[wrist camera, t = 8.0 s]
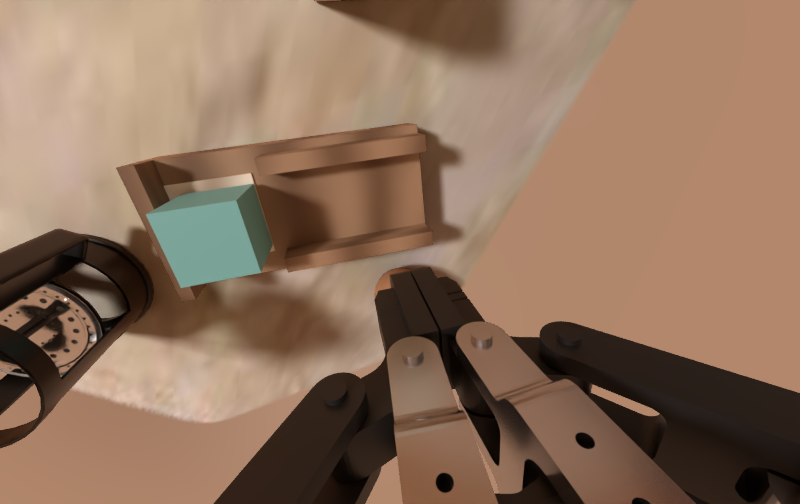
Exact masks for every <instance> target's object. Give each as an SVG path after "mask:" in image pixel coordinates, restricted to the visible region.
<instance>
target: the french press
mask: <svg viewBox="0 0 800 504" xmlns="http://www.w3.org/2000/svg"><path fill="white" fill-rule="evenodd" d="M82 262H83V263H85V264H87V265H89V266H91V267H93V268H95V269H97V270H98V271H100V272H101V273H103V274H104V275H106V276H107V277H108V278H109V279H110V280H111V281H112V282H114V283H115V284H116V286H117V287H118V288H119V290H120V291H121V292H122V294H123V296H124V298H125V300H126V303H127V308H128V310H126V311H125V312H124V313H122V314H120V315H118V316H116V317H113V318H109V319H102V320H101V318H100V316H99V314H98V313H97V311H96V310H95V309H94V308H93V306H92V305H91V304H90V303H89V302H88V301H87V300H85V299H84V298H83V297H82V296H81V295H79V294H78V293H76V292H75V291H73V290H72V289H70V288H68V287H66V286H64V285H62V284H60V283H58V282H56V281H53V280H54V279H56V278H57V277H59V276H60V275H62V274H64V273H65V272H67V271H69V270H70V269H72V268H74V267H75V266H77V265H78V264H80V263H82ZM153 292H154V290H153V284H152V280H151V278H150V276H149V273H148V272H147V270H146V269H145V267H144V266H143V264H142V263H141V262H140V261H139V260H138V259H137V258H136V257H135V256H134V255H132V254H131V253H130V252H128V251H127V250H125V249H124V248H122V247H120V246H118V245H116V244H114V243H112V242H110V241H107V240H104V239H102V238H99V237H94V236H89V235H83V234H78V233H74V232H70V231H67V230H63V229H55V230H53V231H51V232H48V233H46V234H44V235H41V236H39V237H37V238H34V239H32V240H30V241H27V242H25V243H23V244H20V245H18V246H16V247H13V248H11V249H9V250H6V251H4V252H2V253H0V371H1V372H4V373H7V375H6V376H5V377H3V379H1V380H0V415H1V414H2V413H3V412H4V411H6V410H7V409H8V408H9V407H10V406H11V405H12V404H13V403H14V402H15V401H16V400H17V399H18V398H19V397H21V396H22V395H23V394H24V393H25V392H26V391H27V390H28V389H29V388H30V387H31V386H33V385H34V384H35V385H36V387H37V390H38V393H39V395H40V398H41V410H40V413H39V417H38V418H37V419H35V420H33V421H31V422H29V423H27V424H24V425H21V426H18V427H15V428H10V429H5V430H0V448H3V447H6V446H8V445H11V444H13V443H15V442H17V441H19V440H21V439H23V438H25V437H26V436H27V435H28V434H30V433H31V432H32V431H33V430H34V429H35V428H36V427H37V426H38V425H39V424H40V423H41V422H42V421H43V420H44V419H45V418H46V417H47V415H48V414H49V413H50V412H51V411H52V410H53V409H54V407H55V406H56V404H57V403H58V402H59V401H60V399H61V398H62V397H63V396H64V395H65V394H66V393H67V392H68V391H69V390H70V389H71V388H72V387H73V385H74V384H75V383H76V382H77V381H78V380H79V379H80V378H81V377H82V376H83V375H84V374H85V373H86V372H87V370H88V369H89V368H90V367H91V366H92V365H93V364H94V363H95V362H96V361H97V360H98V359H99V358H100V356H101V355H102V354H103V353H104V352H105V351H106V350H107V349H108V348H109V347H110V346H111V345H112V344H113V342H114V341H115V340H117V339H118V338H119V337H120V336H121V335H122V334H123V333H124V332H125V331H126V330H127V329H128V328H129V327H130V326H131V325H132V324H133V323H135V322H137V321H138V320H139V319H140V318H141V317H143V316H144V314H145V313H146V312H147V310H148V309H149V308H150V305H151V303H152V300H153ZM62 375H63V376H62ZM61 376H62V377H61Z"/></svg>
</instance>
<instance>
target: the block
mask: <svg viewBox="0 0 800 504" xmlns="http://www.w3.org/2000/svg"><path fill="white" fill-rule="evenodd" d="M146 216H147V218H148V220H149V222H150V225H151V227H152V229H153V231H154V233H155V235H156V237H157V239H158V241H159V243H160V245H161V248H162V250H163V252H164V254H165V256H166V258H167V260H168V262H169V264H170V266H171V268H172V270H173V273H174V275H175V277H176V279H177V281H178V283H179V285H180V287H181V288H184V287H189V286H194V285H199V284H205V283H210V282H215V281H221V280H226V279H231V278H236V277H242V276H247V275H252V274H257V273H261V272H262V269H263V267H264V265H265V262H266V260H267V257H268V255H269V252H270V250H271V248H272V245H273V244H272V241H271V237H270V234H269V231H268V228H267V225H266V221H265V218H264V215H263V212H262V209H261V205H260V202H259V199H258V196H257V193H256V189H255V186H254V184H247V185H240V186H234V187H227V188H220V189H214V190H207V191H200V192H194V193H187V194H181V195H180V196H178V197H176V198H174V199H172V200H171V201H169V202H167V203H165V204H163V205H162V206H160V207H158V208H156V209H155V210H153V211H151V212H149V213H147V214H146Z"/></svg>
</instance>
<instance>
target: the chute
mask: <svg viewBox="0 0 800 504" xmlns="http://www.w3.org/2000/svg"><path fill="white" fill-rule="evenodd" d="M420 152H427V151H426V137H425V134H421V133H418V132H417V125H416V124H409V123H407V124H400V125H392V126H385V127H377V128H370V129H362V130H355V131H347V132H340V133H332V134H325V135H317V136H310V137H302V138H295V139H288V140H280V141H273V142H265V143H258V144H250V145H243V146H235V147H228V148H220V149H213V150H205V151H198V152H190V153H183V154H175V155H168V156H160V157H156V158H152V159H148V160H144V161H140V162H137V163H133V164H129V165H125V166H121V167H117V168H116V169H117V171H118V173H119V175H120V177H121V179H122V181H123V183H124V185H125V187H126V189H127V191H128V193H129V195H130V197H131V199H132V202H133V204H134V206H135V208H136V210H137V212H138V214H139V216H140V218H141V220H142V222H143V224H144V226H145V228H146V230H147V232H148V234H149V236H150V238H151V240H152V242H153V244H154V246H155V249H156V251H157V253H158V255H159V257H160V259H161V261H162V263H163V265H164V267H165V269H166V271H167V273H168V275H169V277H170V279H171V281H172V283H173V285H174V287H175V289H176V291H177V294H178V296H179V298H180V300H181V302H184V301H189V300H194V299H196V298H197V297H198V295H199V294H200V292H201V291H202V289H203V288H204V287H205V285H206V284H207V283H205V284H199V285H194V286H189V287H184V288H181V287H180V285H179V283H178V281H177V279H176V277H175V275H174V273H173V270H172V268H171V266H170V264H169V262H168V260H167V258H166V256H165V254H164V252H163V250H162V248H161V245H160V243H159V241H158V239H157V237H156V235H155V233H154V231H153V229H152V227H151V225H150V222H149V220H148V218H147V216H146V214H147V213H149V212H151V211H153V210H155V209H156V208H158V207H160V206H162V205H163V204H165V203H167V202H169V201H171V200H172V199H174V198H176V197H178V196H180V195H181V194H187V193H194V192H200V191H207V190H214V189H220V188H227V187H234V186H240V185H247V184H254V186H255V189H256V193H257V196H258V199H259V202H260V205H261V209H262V212H263V215H264V218H265V221H266V225H267V228H268V231H269V234H270V237H271V241H272V244H273V245H272V248H271V250H270V252H269V255H268V257H267V260H266V262H265V265H264V267H263V269H262V272H261V273H263V272H268V271H274V270H279V269H284V268H287V270H288V272H293V271H298V270H303V269H308V268H314V267H319V266H324V265H329V264H334V263H340V262H345V261H350V260H355V259H361V258H366V257H371V256H376V255H381V254H387V253H392V252H397V251H402V250H407V249H413V248H418V247H423V246H428V245H433V233H432V230H431V229H430V228H429V227H428V226H427V225H426V224H425V217H424V205H423V192H422V180H421V168H420V156H419V153H420ZM257 274H258V273H257ZM252 275H253V274H252ZM236 278H237V277H236ZM215 282H216V281H215Z"/></svg>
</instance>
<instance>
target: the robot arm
mask: <svg viewBox="0 0 800 504" xmlns="http://www.w3.org/2000/svg"><path fill="white" fill-rule="evenodd" d="M389 276H390V284H391V288H389V289H384V290H379V291H378V293H377V295H376V298H375V305H376V311H377V316H378V322H379V327H380V333H381V337H382V342H383V346H384V350H385V358H384V360H383V362H382V364H381V365H380V366H379V367H378V368H377V369H376V370H375V371H373V372H372V373H370V374H368V375H366V376H364V377H363V378H361V379H360V378H359V377H357V376H356V375H354V374H351V373H336V374H332V375H329V376H327V377H325V378H324V379H322V380H320V381H319V382H318V383H317V384H316V385H315V386H314V387H313V388H312V389H311V390H310V392H309V393H308V394H307V395H306V396H305V397H304V399H303V400H302V401H301V402H300V403H299V404H298V406H297V407H296V408H295V409H294V410H293V411H292V413H291V414H290V415H289V416H288V417H287V418H286V420H285V421H284V422H283V423H282V424H281V425H280V427H279V428H278V429H277V430H276V431H275V432H274V434H273V435H272V436H271V437H270V438H269V439H268V441H267V442H266V443H265V444H264V445H263V446H262V448H261V449H260V450H259V451H258V452H257V453H256V455H255V456H254V457H253V458H252V459H251V461H250V462H249V463H248V464H247V465H246V466H245V467H244V469H243V470H242V471H241V472H240V473H239V475H238V476H237V477H236V478H235V479H234V480H233V482H232V483H231V484H230V485H229V486H228V487H227V489H226V490H225V491H224V492H223V493H222V494H221V496H220V497H219V498H218V499H217V500H216V502H215V503H214V504H365V503H366V501H367V498H368V497H369V495H370V493H371V491H372V489H373V486H374V485H375V482H376V481H377V479H378V477H379V474H380V471H381V466H383V465H384V464H386V463H387V462H389V461H390V460H391V459H393V458H394V457H396V456H397V458H398V467H399V476H400V484H401V493H402V501H403V504H800V393H797V392H794V391H791V390H787V389H784V388H781V387H778V386H775V385H772V384H768V383H765V382H762V381H759V380H755V379H752V378H749V377H746V376H742V375H739V374H736V373H733V372H730V371H726V370H723V369H720V368H716V367H713V366H710V365H707V364H704V363H701V362H697V361H694V360H691V359H688V358H685V357H681V356H678V355H675V354H672V353H668V352H665V351H662V350H659V349H656V348H652V347H649V346H646V345H643V344H639V343H636V342H633V341H630V340H626V339H623V338H620V337H616V336H614V335H610V334H607V333H603V332H601V331H597V330H594V329H591V328H588V327H584V326H581V325H578V324H575V323H571V322H562V321H560V322H552V323H549V324H547V325H545V326H544V327H542V329H541V331H540V337H512V336H509V335H508V334H507V333H505V331H504V330H503V329H502V328H500V327H499V326H497V325H495V324H492V323H488V322H485V321H484V319H483V318H482V316H481V315H480V314H479V313H478V311H477V310H476V308H475V307H474V306H473V304H472V303H471V302H470V300H469V299H467V296H466V295H465V293H464V292H462V289H461V288H460V287H459V285H458V284H457V282H455V281H453V280H451V279H449V278H448V277H441V278H437V277H436V276H435V274H434V273H433V271H432V269H431V268H430V267H424V268H420V269H415V270H410V272H409V271H405V272H400V273H395V274H390V275H389ZM592 384H594V385H596V386H598V387H601V388H603V389H606V390H608V391H611V392H613V393H616V394H618V395H621V396H623V397H625V398H628V399H631V400H633V401H635V402H638V403H641V404H643V405H645V406H648V407H650V408H652V409H654V410H656V411H657V412H659V413H660V414H659V415H658V416H645V415H642V414H640V413H637V412H635V411H633V410H630V409H628V408H625V407H623V406H621V405H618V404H616V403H614V402H611V401H609V400H606V399H604V398H602V397H599V396H597V395H595V394H592V393H591V388H592ZM452 389H456V391H457V394H458V396H459V406H460V410H459V409H458V406H457V403H456V400H455V398H454V395H453V391H452ZM477 444H478V446H479V448H480V450H481V452H482V454H483V456H484V458H485V459H486V462H487V463H488V465H489V467H490V469H491V471H492V473H493V475H494V478H495V480H496V483H497V486H498V490H499V494H495V493H494V491H493V488H492V486H491V482H490V480H489V477H488V474H487V471H486V468H485V466H484V463H483V460H482V457H481V454H480V452H479V449H478V446H477Z"/></svg>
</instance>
